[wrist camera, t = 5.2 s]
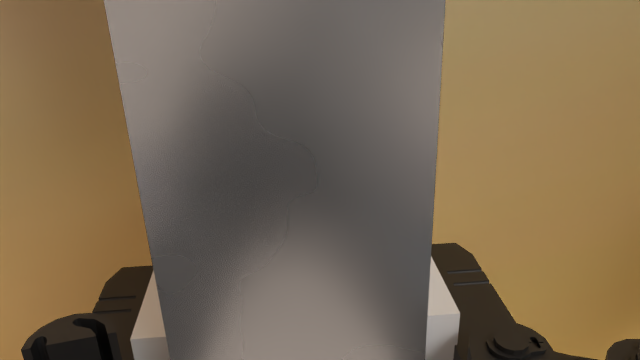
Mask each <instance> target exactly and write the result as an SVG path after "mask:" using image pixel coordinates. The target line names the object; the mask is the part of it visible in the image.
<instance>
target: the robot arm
mask: <svg viewBox="0 0 640 360" xmlns="http://www.w3.org/2000/svg"><path fill="white" fill-rule="evenodd" d="M21 352H22V355H23V358H24V360H170V356H169V351H168V345H167V340H166V334H165V329H164V324H163V318H162V313H161V307H160V302H159V297H158V291H157V286H156V280H155V275H154V270H153V266H139V267H124V268H121V269H120V270H119V271H118V272H117V273H116V274H115V275H114V276H113V277H111V278H110V279H109V280H108V281H107V282H106V284H105V286H104V288H103V290H102V292H101V294H100V297H99V301H98V302H97V303H96V305H95V307H94V310H93V313H85V314H74V315H70V316H67V317H63V318H60V319H57V320H55V321H53V322H51V323H49V324H47V325H45V326H43V327H41V328H40V329H39V330H37V331H36V332H35V333H34V334H33V335H31V336H30V337H29V338H28V339H27V341H26V343H25V344H24V346H23V348H22V349H21ZM425 360H597V359H590V358H584V357H577V356H571V355H566V354H562V353H557V352H555V351H553V349H552V348H551V346H550V345H549V343H548V342H547V341H546V339H545V338H544V337H542V336H541V335H540V334H538V333H537V332H536V331H534V330H533V329H530V328H528V327H525V326H523V325H520V324H518V323H516V322H515V321H514V319H513V317H512V316H511V314H510V313H509V311H508V310H507V308H506V306H505V305H504V303H503V302H502V300H501V299H500V297H499V295H498V294H497V292H496V291H495V289H494V288H493V286H492V285H491V283H490V284H489V280H488V278H487V277H486V275H485V274H484V272H482V271H481V267H480V266H479V264H478V263H477V261H476V259H475V258H474V256H473V255H472V254H471V253H469V252H468V251H466V250H465V249H464V248H462V247H461V246H459V245H458V244H456V243H446V244H432V247H431V264H430V282H429V300H428V317H427V335H426V353H425ZM605 360H640V339H625V340H622V341H619V342H616V343H614V344H613V345H612V346H611V347H610V348H609V349H608V351H607V355H606V359H605Z"/></svg>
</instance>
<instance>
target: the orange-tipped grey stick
mask: <svg viewBox="0 0 640 360" xmlns="http://www.w3.org/2000/svg"><path fill="white" fill-rule="evenodd" d="M104 5H105V10H106V15H107V21H108V26H109V32H110V37H111V42H112V48H113V53H114V59H115V64H116V70H117V75H118V80H119V86H120V91H121V97H122V102H123V107H124V113H125V118H126V124H127V129H128V134H129V140H130V145H131V151H132V156H133V161H134V167H135V172H136V178H137V183H138V188H139V194H140V199H141V205H142V210H143V215H144V221H145V226H146V232H147V237H148V243H149V248H150V253H151V259H152V264H153V270H154V275H155V280H156V286H157V291H158V297H159V302H160V307H161V313H162V318H163V324H164V329H165V334H166V340H167V345H168V351H169V356H170V360H425V353H426V335H427V317H428V300H429V282H430V264H431V247H432V229H433V212H434V194H435V176H436V159H437V141H438V123H439V106H440V88H441V71H442V53H443V35H444V18H445V0H104Z"/></svg>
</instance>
